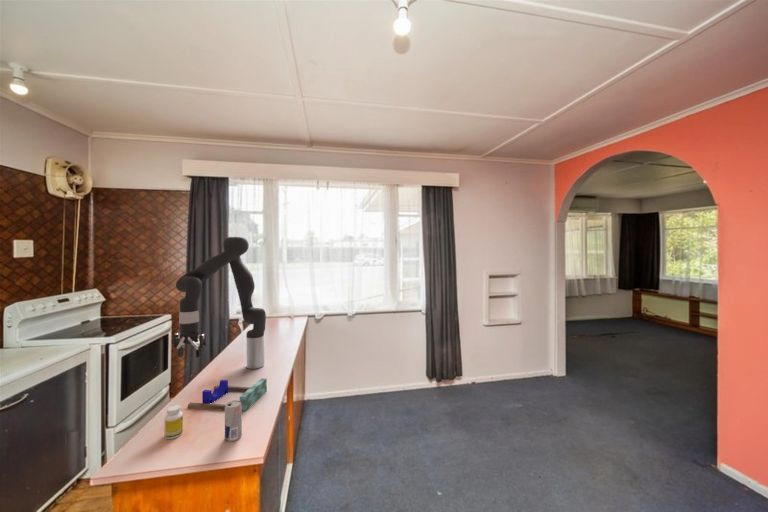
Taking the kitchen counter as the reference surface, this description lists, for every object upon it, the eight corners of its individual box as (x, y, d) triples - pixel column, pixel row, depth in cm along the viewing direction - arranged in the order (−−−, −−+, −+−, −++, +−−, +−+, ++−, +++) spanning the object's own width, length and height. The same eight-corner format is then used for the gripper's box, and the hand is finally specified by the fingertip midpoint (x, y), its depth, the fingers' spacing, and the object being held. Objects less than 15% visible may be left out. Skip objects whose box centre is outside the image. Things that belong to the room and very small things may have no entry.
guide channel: (215, 388, 146) (215, 376, 146) (266, 391, 143) (266, 378, 143) (187, 407, 128) (187, 393, 128) (245, 411, 126) (245, 396, 125)
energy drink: (228, 433, 111) (228, 400, 110) (244, 432, 111) (243, 399, 111) (222, 442, 105) (221, 408, 105) (238, 441, 106) (238, 407, 105)
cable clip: (219, 392, 143) (219, 379, 143) (228, 392, 142) (227, 380, 142) (199, 404, 131) (199, 391, 131) (208, 405, 130) (208, 391, 130)
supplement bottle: (184, 434, 110) (184, 407, 109) (166, 441, 106) (166, 413, 105) (180, 428, 113) (180, 402, 113) (162, 435, 109) (162, 408, 109)
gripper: (209, 319, 140) (210, 354, 140) (180, 318, 141) (181, 353, 142) (198, 323, 133) (198, 360, 133) (167, 322, 134) (168, 359, 134)
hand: (189, 357), depth 137 cm, fingers open, 8 cm apart
